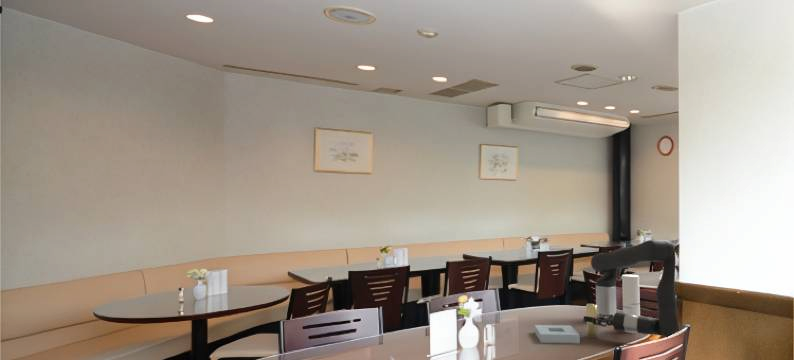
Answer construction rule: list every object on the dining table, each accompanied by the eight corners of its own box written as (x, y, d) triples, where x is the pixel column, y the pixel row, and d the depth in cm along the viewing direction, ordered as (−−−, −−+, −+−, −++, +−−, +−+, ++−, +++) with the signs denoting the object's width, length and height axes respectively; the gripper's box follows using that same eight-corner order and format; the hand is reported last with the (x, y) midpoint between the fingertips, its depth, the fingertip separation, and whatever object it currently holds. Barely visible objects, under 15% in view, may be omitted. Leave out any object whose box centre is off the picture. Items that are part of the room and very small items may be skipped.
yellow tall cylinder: (585, 335, 226) (585, 303, 226) (596, 335, 225) (595, 303, 226) (588, 338, 221) (587, 305, 222) (598, 338, 221) (598, 305, 221)
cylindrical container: (642, 332, 230) (640, 277, 230) (625, 331, 231) (624, 276, 232) (638, 328, 237) (636, 274, 237) (621, 327, 238) (620, 274, 239)
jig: (534, 332, 231) (534, 324, 231) (570, 333, 229) (570, 325, 229) (540, 342, 215) (540, 334, 215) (579, 343, 213) (579, 335, 213)
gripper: (630, 310, 221) (589, 306, 231) (622, 317, 209) (580, 312, 219) (630, 328, 221) (590, 322, 231) (623, 335, 209) (580, 329, 219)
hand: (585, 317), depth 225 cm, fingers closed on yellow tall cylinder, 4 cm apart
